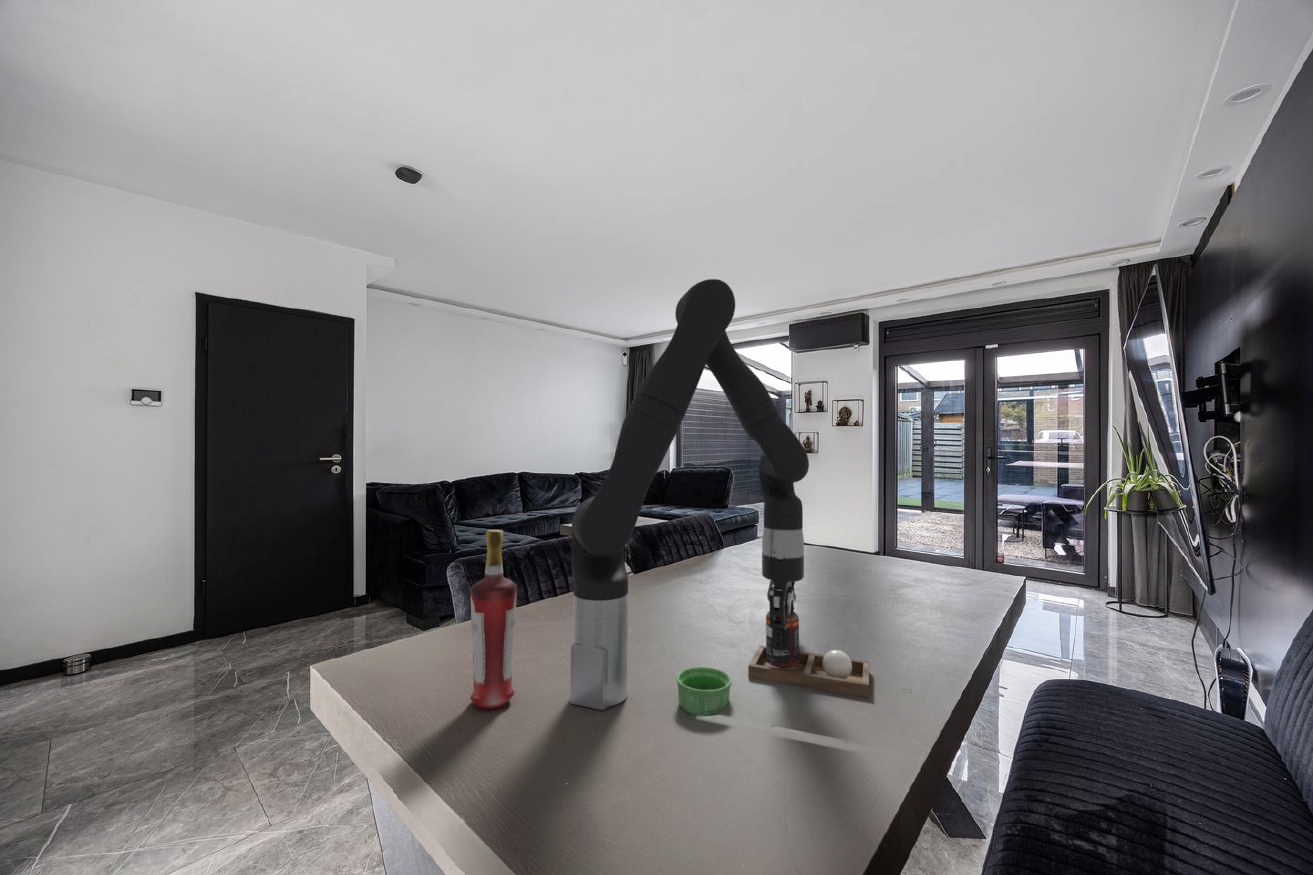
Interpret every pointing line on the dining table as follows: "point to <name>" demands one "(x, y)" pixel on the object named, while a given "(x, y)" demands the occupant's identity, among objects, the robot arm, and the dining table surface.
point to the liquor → (493, 629)
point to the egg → (837, 664)
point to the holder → (811, 674)
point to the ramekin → (703, 690)
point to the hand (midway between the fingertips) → (782, 643)
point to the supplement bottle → (791, 652)
